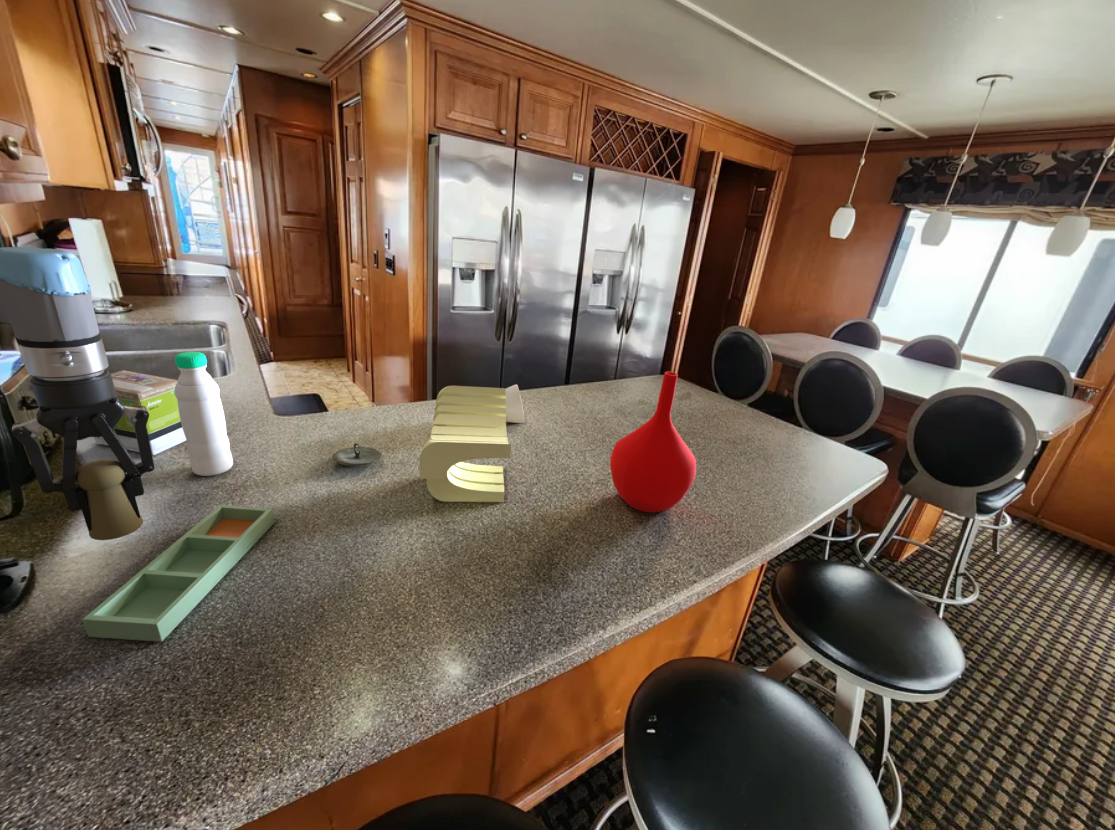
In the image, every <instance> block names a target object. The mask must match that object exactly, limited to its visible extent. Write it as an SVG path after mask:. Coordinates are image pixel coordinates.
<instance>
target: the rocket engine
mask: <svg viewBox="0 0 1115 830" xmlns="http://www.w3.org/2000/svg"><path fill="white" fill-rule="evenodd" d="M505 398H506V407H505V408H506V423H516V424H525V414H524V413H525V412H524V406H523V401H522V396H521V392H520V389H519V385H518V384H517V383H516V384H513V385H511V386H508V387H506V396H505Z"/></svg>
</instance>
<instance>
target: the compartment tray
mask: <svg viewBox="0 0 1115 830" xmlns="http://www.w3.org/2000/svg"><path fill="white" fill-rule="evenodd" d="M274 524H275V518H274V511H273V508H265V507H252V506H244V505H243V506H242V505H241V506H240V505H230V504H218V506H217V507H215V508H214V509H213V510H212V511H211V512H209V513H208V514H207V515H206V516H205V517H204V518H202V519H201V520H200V521H198V522H197V523H196V524H195V525H194V526H193V527H192V528H190V529H189V530H188V531H187V532H185V534H183V535H182V536H180V537H179V538H178V539H177V540H176V541H174V543H172V544H171V545H170V546H168V547H167V548H166V549H165V550H164V551H162V552H161V553H160V554H159V555H158V556H156V557H155V558H154V559H152V561H151V562H149V563H148V564H147V565H146V566H145V567H143V568H142V569H141V570H139V571H138V572H137V573H136V574H135V575H134V576H132V577H131V578H130V579H129V580H128V581H126V582H125V583H124V584H122V585H121V586H120V587H119V588H118V589H116V591H114V592H113V593H112V594H110V595H109V596H108V597H107V598H106V599H105V600H103V601H102V602H101V603H100V604H99V605H97V606H96V607H95V608H94V609H93V610H91V611H90V612H89V613H88V614H87V615H85V616H84V617H83V618H82V619H81V620H82V623H83V626H84V628H85V631H86V634H87V636H88V638H100V639H101V638H102V639H115V640H116V639H117V640H128V641H129V640H131V641H145V642H161V643H162V642H163V641H164V640H165V639H166V638H167V637H168V636H169V635H170V634H171V633H172V632H173V631H174V630H175V628H177V626H178V625H179V624H180V623H181V622H182V621H183V620H184V619H185V618H186V617H188V615H189V614H190V613H192V611H193V609H194V608H196V607H197V606H198V604H199V603H200V602H201V601H202V600H203V599H204V598H205V597H206V596H207V595H208V594H209V593H210V592H211V590H213V589H214V587H215V586H216V585H217V584H219V582H220V581H221V580H222V579H223V578H224V577H225V576H226V575H227V574H228V573H229V572H230V571H231V569H232V568H233V567H235V565H236V564H237V563H238V562H239V561H240V560H241V559H242V558H243V557H244V556H245V555H246V554H247V553H248V552H249V550H250V549H251V548H252V547H253V546H254V545H255V544H256V543H257V542H258V541H259V540H260V539H261V538H262V537H263V536H264V535H265V534H266V533H267V531H269V529H270V528H271V527H272V526H273V525H274Z"/></svg>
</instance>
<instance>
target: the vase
mask: <svg viewBox="0 0 1115 830" xmlns="http://www.w3.org/2000/svg"><path fill="white" fill-rule="evenodd" d="M678 376H679V375H678V373H676V372H673V371H665V372H664V374H663V378H662V382H661V387H660V391H659V395H658V399H657V405H656V409H655V412H654V414H653V416H651V418H650V419H649V420H648V421H646V422H645V423H643V424H642V425H640V426H639V427H638V428H636V429H635V430H634V431H632V432H630V433H628V434H627V435H625V436H622V438H620V439H619V440H617V441H616V443H615V444H614V447H613V449H612V452H611V455H610V462H609V466H610V473H611V478H612V483H613V485H614V486H613V487H615V490H616V491H617V493H618V495H619V496H620V497H621V499H622V500H623V501H624V502H625V503H626V504H627V505H628V506H630V507H631V508H633V509H635V510H638V511H641V512H645V513H653V514H654V513H660V512H664V511H667V510H669V509H671V508H673V507H674V506H675V505H677V504H679V502H680V501H682V500H683V499H684V497H685V496H686V495H687V493H688V491H689V490H690V488H691V487H692V486H693V484H694V482H695V480H696V479H695V478H696V475H697V460H696V459H697V458H696V457H695V455H694V453H693V452H692V451H691V449H690V448H689V447H688V445H687V444H686V443H685V441H684V439H683V438H682V437H681V435H680V434H679V432H678V430H677V429H676V428H675V426H674V423H673V420H672V415H671V412H672V408H673V403H674V398H675V392H676V386H677V382H678Z"/></svg>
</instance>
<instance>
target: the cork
mask: <svg viewBox="0 0 1115 830" xmlns="http://www.w3.org/2000/svg"><path fill="white" fill-rule="evenodd" d="M126 474H127V473H126V471H125V470H124V468H123V467H122V465H121V464H120V462H119V461H118V460H115V459H98V460H94V461H90V462H88V463H86V464H84V465H82V466H80V467H79V468H78V469H77V470H76V481H75V483H76V484H78V485H79V486H80V487H81V488H83V489H84V490H85V495H86V499H87V503H88V506H89V509H90V513H91V526H92V530H90V531H88V536H89V537H90V538H91V539H92V540H95V541H109V540H115V539H119V538H123V537H126V536H129V535H130V534H132V533H135V532H136V531H138V529H140V528H141V527H142V526H143V525H144V519H143V518H142V516H141V514H140V518H138V517H137V515H136V513H135V511H134V509H133V507H132V505H131V504H130V502H129V499H128V495H127V492H126V488H125V485H124V479H125V477H126Z"/></svg>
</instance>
